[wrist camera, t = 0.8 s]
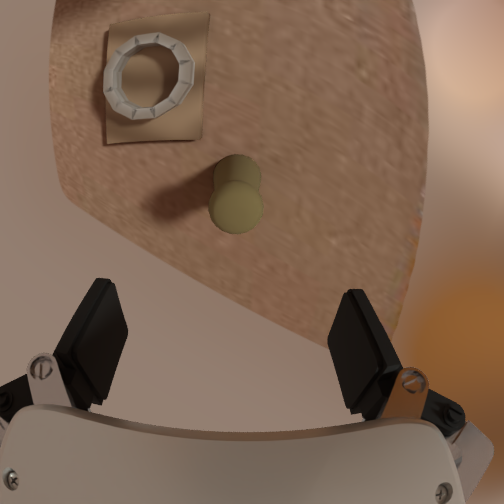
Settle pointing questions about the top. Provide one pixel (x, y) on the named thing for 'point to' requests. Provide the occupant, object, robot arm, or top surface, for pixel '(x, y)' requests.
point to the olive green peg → (236, 195)
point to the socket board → (156, 78)
